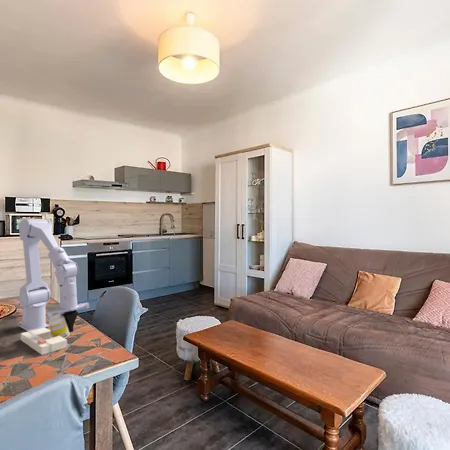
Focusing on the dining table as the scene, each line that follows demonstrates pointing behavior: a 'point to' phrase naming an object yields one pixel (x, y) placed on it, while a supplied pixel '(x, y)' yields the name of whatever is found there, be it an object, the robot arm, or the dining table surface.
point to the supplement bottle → (59, 326)
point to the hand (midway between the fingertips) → (70, 331)
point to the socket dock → (43, 341)
